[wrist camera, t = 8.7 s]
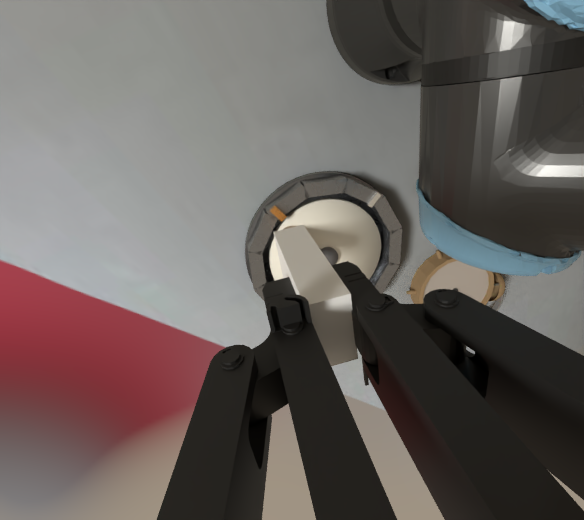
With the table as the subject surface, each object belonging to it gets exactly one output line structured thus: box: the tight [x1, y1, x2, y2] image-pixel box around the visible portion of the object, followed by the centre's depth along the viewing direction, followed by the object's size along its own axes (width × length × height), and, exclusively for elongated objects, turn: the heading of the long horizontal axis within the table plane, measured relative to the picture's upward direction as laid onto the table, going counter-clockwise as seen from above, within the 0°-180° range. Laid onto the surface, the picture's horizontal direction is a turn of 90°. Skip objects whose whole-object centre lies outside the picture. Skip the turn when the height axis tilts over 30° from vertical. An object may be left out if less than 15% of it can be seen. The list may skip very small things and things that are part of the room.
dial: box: [269, 198, 381, 280], centre depth 39 cm, size 14×14×10 cm
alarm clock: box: [407, 250, 505, 311], centre depth 50 cm, size 11×5×15 cm
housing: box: [245, 171, 402, 301], centre depth 43 cm, size 20×20×4 cm
